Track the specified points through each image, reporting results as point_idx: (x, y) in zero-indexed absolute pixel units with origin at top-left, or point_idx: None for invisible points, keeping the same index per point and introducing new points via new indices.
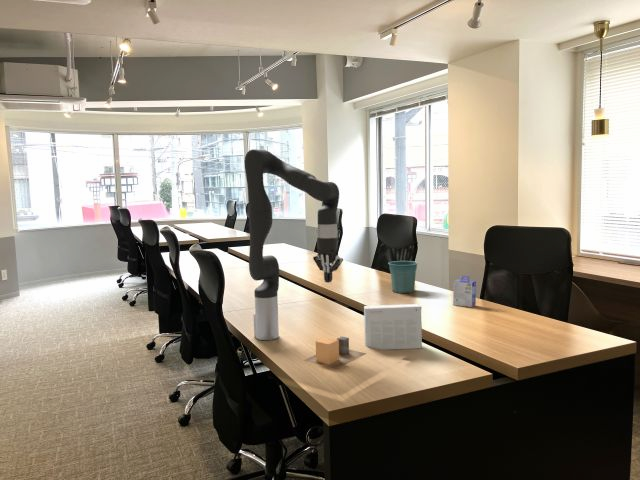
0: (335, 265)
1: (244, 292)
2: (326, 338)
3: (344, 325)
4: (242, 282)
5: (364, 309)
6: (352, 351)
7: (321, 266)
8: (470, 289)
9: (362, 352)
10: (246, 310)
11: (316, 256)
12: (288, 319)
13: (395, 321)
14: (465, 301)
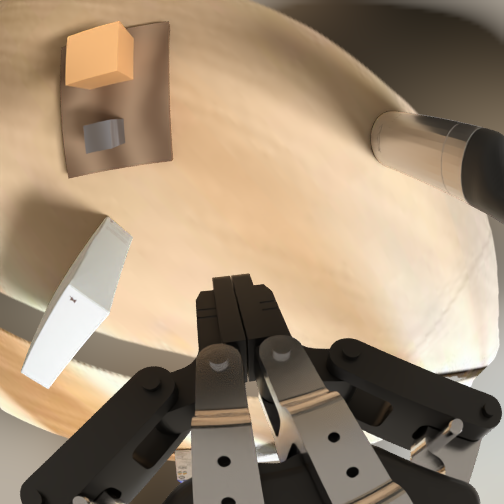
0: (82, 443)
1: (486, 309)
2: (105, 63)
3: (286, 317)
4: (489, 329)
5: (94, 294)
6: (102, 161)
7: (353, 384)
8: (178, 471)
9: (79, 175)
10: (475, 255)
11: (472, 445)
12: (410, 267)
13: (47, 311)
14: (184, 455)
